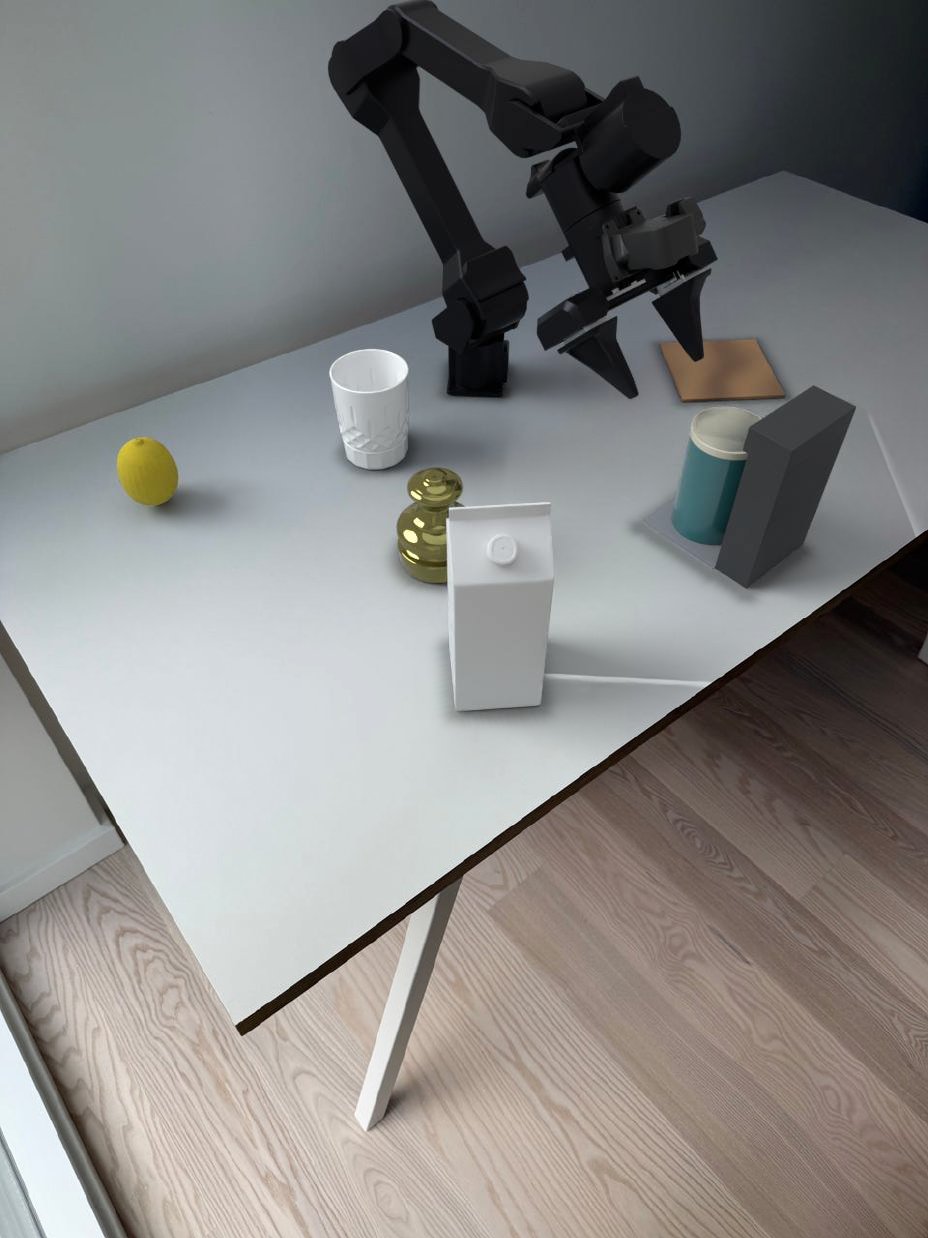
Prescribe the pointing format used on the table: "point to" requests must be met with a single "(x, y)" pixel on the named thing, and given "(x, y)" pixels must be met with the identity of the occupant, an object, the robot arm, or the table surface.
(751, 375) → the cork mat
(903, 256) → the table surface
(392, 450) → the white cup
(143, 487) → the lemon
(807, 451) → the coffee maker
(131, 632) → the table surface
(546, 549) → the milk carton
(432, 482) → the brass calibration weight
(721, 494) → the container
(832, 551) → the table surface
